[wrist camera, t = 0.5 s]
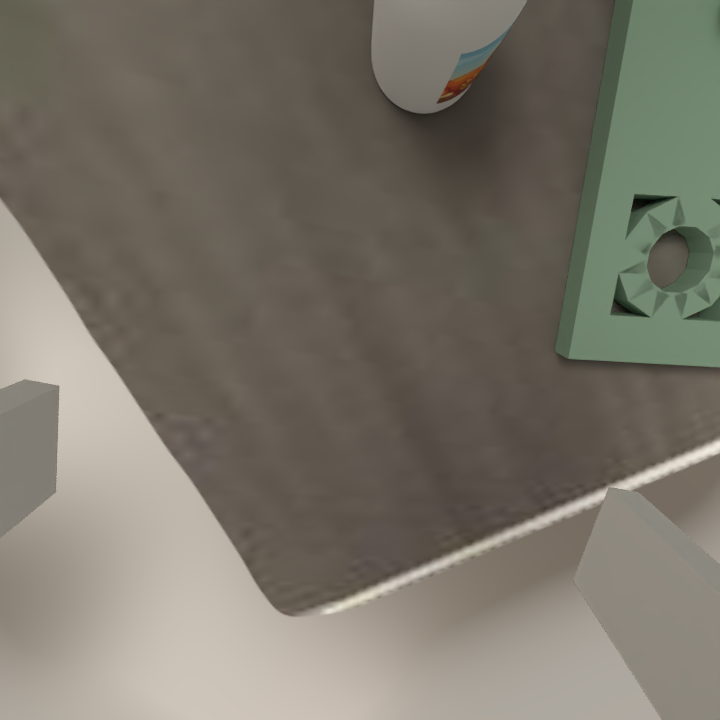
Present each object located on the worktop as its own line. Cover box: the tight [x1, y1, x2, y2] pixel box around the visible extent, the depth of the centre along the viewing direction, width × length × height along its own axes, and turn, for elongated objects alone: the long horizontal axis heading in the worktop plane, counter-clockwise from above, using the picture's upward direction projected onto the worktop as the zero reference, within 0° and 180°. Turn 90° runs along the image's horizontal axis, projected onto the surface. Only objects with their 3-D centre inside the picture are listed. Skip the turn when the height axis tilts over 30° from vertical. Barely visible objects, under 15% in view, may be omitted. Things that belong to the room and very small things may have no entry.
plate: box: [555, 0, 720, 367], centre depth 32 cm, size 32×14×2 cm, turn 177°
